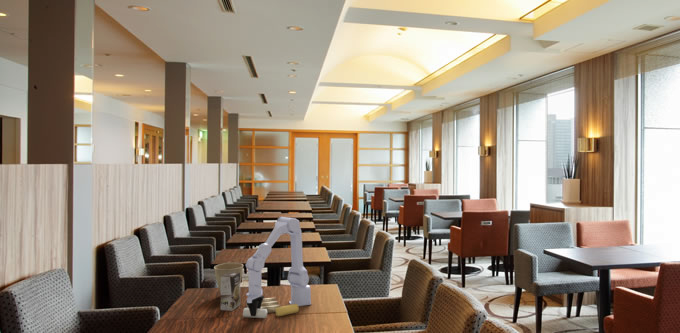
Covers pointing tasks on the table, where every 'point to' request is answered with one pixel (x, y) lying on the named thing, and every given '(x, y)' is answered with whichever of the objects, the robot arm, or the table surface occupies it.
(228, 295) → the coffee box
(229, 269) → the plant pot
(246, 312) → the tall white tube
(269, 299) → the rack
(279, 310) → the pale yellow cylinder
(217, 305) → the table surface
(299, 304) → the robot arm
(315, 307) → the table surface
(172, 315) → the table surface
